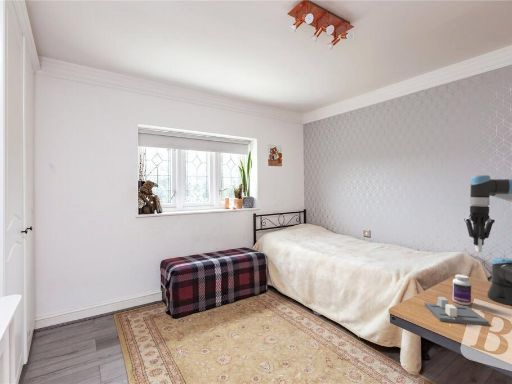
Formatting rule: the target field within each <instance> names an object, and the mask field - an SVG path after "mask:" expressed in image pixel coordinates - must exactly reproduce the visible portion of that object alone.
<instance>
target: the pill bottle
mask: <svg viewBox="0 0 512 384" xmlns="http://www.w3.org/2000/svg"><path fill="white" fill-rule="evenodd" d="M454 277H455V278H453V280H452V287H451V288H452V290H451V292H452V294H451V296H452V297H451V298H452V302H454V303H456V304H459V305H461V306H469V305H471V303H472V282H470V280H469V276H468V275H465V274H457V273H456V274H455V276H454Z"/></svg>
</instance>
